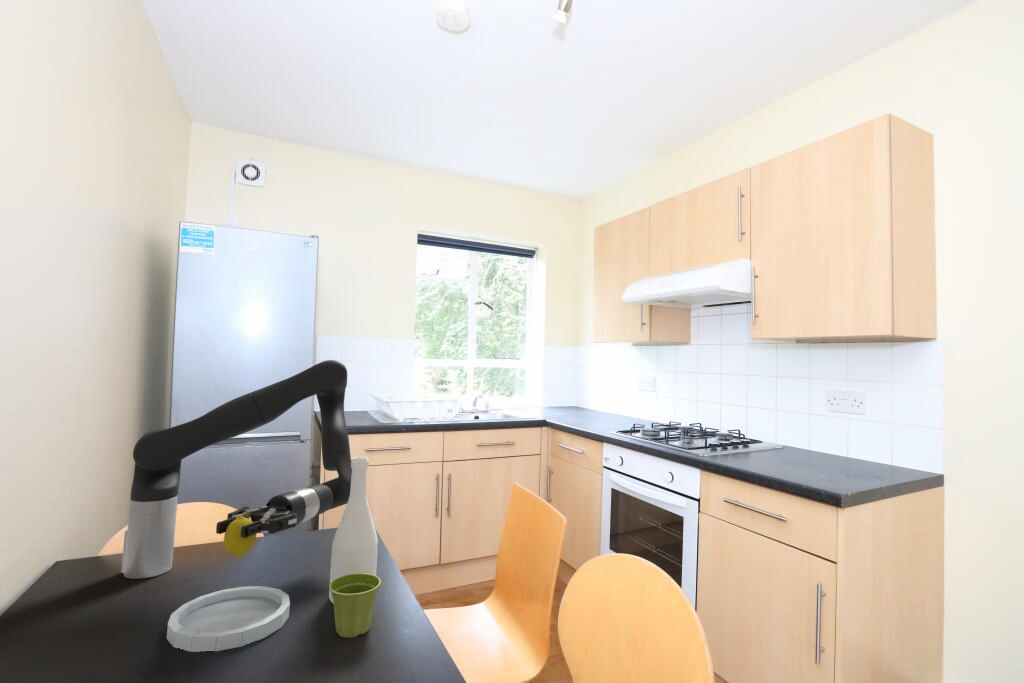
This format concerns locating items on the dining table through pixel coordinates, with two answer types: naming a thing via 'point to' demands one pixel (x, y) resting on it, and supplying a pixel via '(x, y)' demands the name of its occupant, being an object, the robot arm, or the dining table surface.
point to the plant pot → (354, 602)
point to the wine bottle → (355, 530)
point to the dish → (228, 618)
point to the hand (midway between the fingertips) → (230, 530)
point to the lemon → (238, 538)
